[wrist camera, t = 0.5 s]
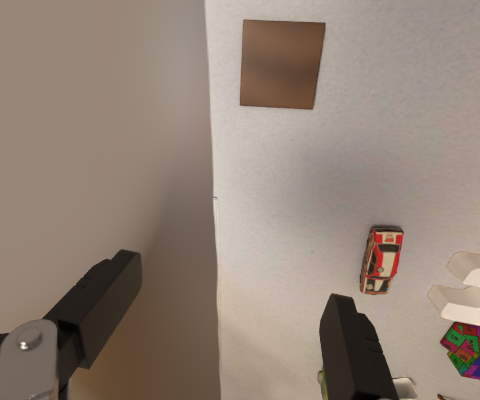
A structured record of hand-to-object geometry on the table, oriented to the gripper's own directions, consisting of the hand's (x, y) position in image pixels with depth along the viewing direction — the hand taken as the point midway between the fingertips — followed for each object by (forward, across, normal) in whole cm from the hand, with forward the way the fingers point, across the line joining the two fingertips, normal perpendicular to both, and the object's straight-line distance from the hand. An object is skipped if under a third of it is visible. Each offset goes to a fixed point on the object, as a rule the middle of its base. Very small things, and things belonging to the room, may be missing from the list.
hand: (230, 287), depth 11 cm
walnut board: (+28, 0, -8) cm, 29 cm away
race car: (+29, -20, +16) cm, 38 cm away
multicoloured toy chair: (+30, -44, +31) cm, 61 cm away
